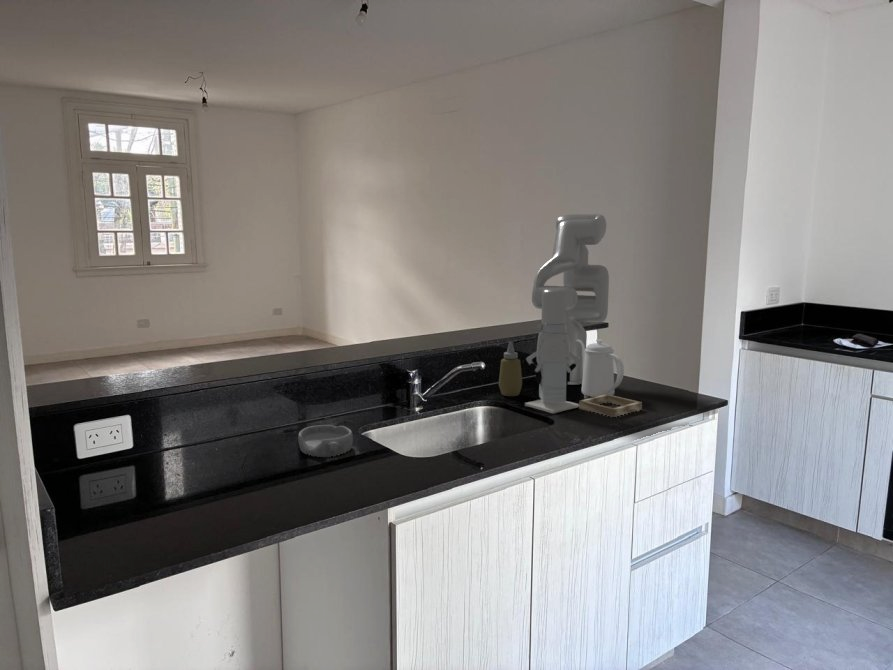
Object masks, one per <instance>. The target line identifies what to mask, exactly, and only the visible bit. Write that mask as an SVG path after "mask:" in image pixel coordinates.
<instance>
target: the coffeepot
mask: <svg viewBox="0 0 893 670" xmlns="http://www.w3.org/2000/svg"><path fill="white" fill-rule="evenodd" d="M576 341H577V342H580V343H581V345H582V355H583V380H582V384H581V393H582V394H583V395H584V396H586V397H589V396H590V397H589V398H593V397H597V396H601V395H605V394H609V395H613V396H615V389H617V388H619V386H620V385H621V383H622V381H623V378H624V374H625V368H624V364H623V361H622V359H621V358H620V356H618V355H617V354H614V349H613V347H612V346H611V345H610V344H607V343H603V341H604V340H603V339H602V338H601V339H599V338H598V339H597V338H596V340H595V342H594V343H589V344H587V345H586V349H585V346H584V343H583V342H582V341H581V340H576ZM614 362H615V365H616V378H615V373H614V372H615V371H614Z"/></svg>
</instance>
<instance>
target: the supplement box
mask: <svg viewBox="0 0 893 670" xmlns="http://www.w3.org/2000/svg"><path fill="white" fill-rule="evenodd" d="M566 371H567V363H566V362H543V363H542V367H541V368H540V385H538V386H539V387H538V397H539V398H540V399H541V400H542V401H543V402H566V401H567V385H566Z"/></svg>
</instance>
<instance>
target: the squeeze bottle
mask: <svg viewBox="0 0 893 670" xmlns="http://www.w3.org/2000/svg"><path fill="white" fill-rule="evenodd" d="M518 356H519V353H518V352H515V348H514V342H513V341H509V342H508V346H507V350H506V351H505V352H503V358H502V359H501V360H500V367H499V376H498V387H499V390H500V393H501V396H506V397H516V396H519V395H520V392H521V390H522V386H523V376H522V366H521V359H519V358H518Z"/></svg>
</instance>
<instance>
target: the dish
mask: <svg viewBox="0 0 893 670" xmlns="http://www.w3.org/2000/svg"><path fill="white" fill-rule="evenodd" d="M297 439H298V440H297V441H298V445H299V446H298V447H299V448H300V451H301V452H302V453H303V454H305V455H307V454H308V455H307V456H310V455H311V457H315V456H316V458H332V457H331V456H333V457H337V456H336V455H338V456H341V455H340V454H342V455H344V454H346V452H347V451H348V452H349V451H351V449H352V448H353V443H354V442H353V441H354V440H353V439H354V437H353V432H352V430H351V429H350V428H348V427H347V426H344V425H339V426H335V425H333V424H320V425H319V424H318V425H310V426H306V427H304V428H302V429H301V430H300V431H299V432H298V437H297ZM348 452H347V453H348ZM343 453H344V454H343Z"/></svg>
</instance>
